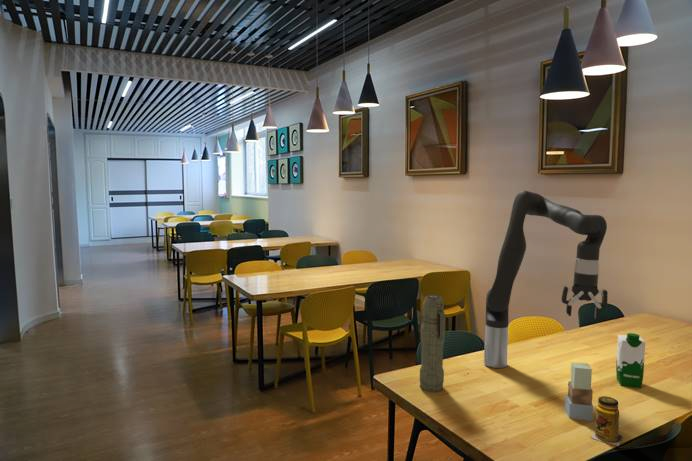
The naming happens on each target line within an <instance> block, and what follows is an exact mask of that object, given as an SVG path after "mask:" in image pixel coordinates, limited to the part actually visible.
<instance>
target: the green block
mask: <svg viewBox="0 0 692 461" xmlns="http://www.w3.org/2000/svg"><path fill="white" fill-rule="evenodd" d="M570 369H571V370H570V382H571V384H572V386H573V387H574V388H576V389H585V390H591V389H592V374H593V368H592V367H591V366H590V364H589V363H586V362H585V363H584V362H574V361H573V362H571V368H570Z"/></svg>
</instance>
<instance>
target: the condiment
mask: <svg viewBox="0 0 692 461" xmlns="http://www.w3.org/2000/svg"><path fill="white" fill-rule="evenodd" d="M595 411H596V412H595V413H596V414H595V428H594V431H593V434H592V435H591V437H590V438H591V439H594V440H596V441H600V442H602V443H606V444H610V445H613V446H617V447H619V446H620V444H621V442H622V439H623V437H624V436H625V434H623V433H619V426H620V410H619V402H618V400H617V399H615V398H613V397H611V396H606V395H605V396H602V395H601V396H599V397H598V399H597V405H596V407H595Z"/></svg>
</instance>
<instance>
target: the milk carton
mask: <svg viewBox="0 0 692 461" xmlns="http://www.w3.org/2000/svg"><path fill="white" fill-rule="evenodd" d="M616 345H617V348H616V362H615V363H616V366H615V369H616V370H615V371H616V372H615V373H616V380H617V382H618V383H619V385H620V386H621V387H629V388H636V389H642V388H643V381H644V374H645V373H644V372H645V355H646V354H645V352H646V341H645V340H644V339H643V338H642V337H641V336H640V334H636V333H632V332H631V333H630V332H629V333H627V334H625V335H624V334H618V335H617V344H616Z"/></svg>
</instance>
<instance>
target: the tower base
mask: <svg viewBox="0 0 692 461" xmlns="http://www.w3.org/2000/svg"><path fill="white" fill-rule="evenodd" d="M564 410H565V412H566V414H567V416H568V419H572V420H580V421H590V422H594V421H593V420H594V405H593V404H592V405H583V404H574V403H571V401H570V399H569V397H568V394H565V395H564Z"/></svg>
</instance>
